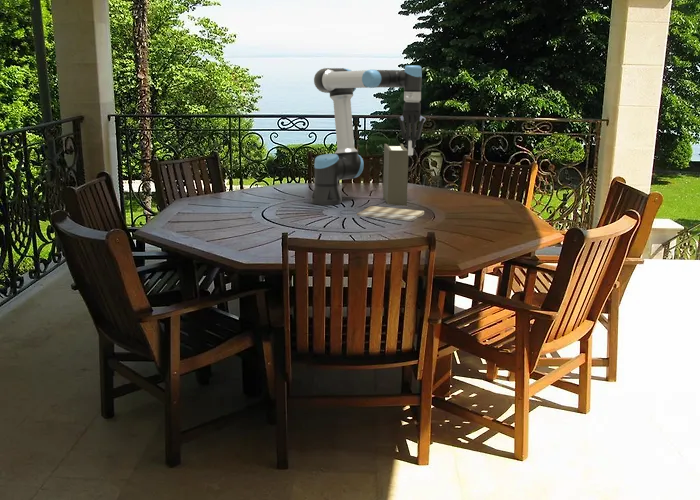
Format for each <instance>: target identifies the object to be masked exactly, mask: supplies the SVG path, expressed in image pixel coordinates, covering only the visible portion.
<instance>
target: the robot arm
mask: <svg viewBox="0 0 700 500" xmlns="http://www.w3.org/2000/svg"><path fill="white" fill-rule="evenodd" d="M422 69H423V68H422V66H421V65H405V66H404V70H403V69H402V70H397V69H366V70H365V69H363V70H362V69H361V70H352V69H349V68H344V67H342V68H341V67H340V68H338V67H336V68H335V67H333V68H332V67H331V68H330V67H327V68H326V67H324V68H321V69H319V70H318V71H316V73H315V75H314V77H313V84H314V87H315V88H316V89H317V90H318V91H319V92H322V93H326V94H329V98H330V99H331V100H332V101H333V102H332V103H333V112H334V113H333V114H334V122H335V123H334V126H335V135H336V136H335V137H336V147H337V148H336V150H335V152H334V153H325V154H320V155H317V156H315V158H314V164H313V165H314V166H313V167H314V189H313V191H312V195H311V197H310V201H311V202H310V203H311V204H313V205H320V206H335V205H339V204H341V203H342V201H343V200H342V199H343V197H342V195H341V191H340V189H339V181H340V180H352V179H356V178H358V177H360V175H361V174H362V173H363V171H364V165H365V164H364V159H363V158H362V156H361V155H359V150H358V149H356V148H355V138H354V125H353V114H352V113H353V111H352V102H351V99H352V98H353V96H354V92H356V89H357V88H358V89H365V88H367V89H373V88H375V89H377V88H378V89H379V88H391V89H393V88H394V89H395V88H397V89H398V88H399V89H400V88H403V90H404V92H403V101H404V102H403V112H402V115H401V116H399V117H397V121H398V123H399V128H400V132H401V138H402V139H404V140H405V141H406V142H405V143H406V147H405V148H406V149H407V150H408V155H409V156H413V155H414V149H415V148H416V143H417V142H416V141H417V140H421V135H422V132H423V127H424V123H425V122H426V120H427V118H426V117H424V116H422V113H421V109H422V108H421V105H422V104H421V103H422V102H421V101H422V80H423V78H422V77H423V75H422V73H423V70H422ZM405 122H406V125H405ZM418 122H419V123H418ZM405 126H406V127H405ZM417 127H418V128H417Z"/></svg>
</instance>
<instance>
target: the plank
mask: <svg viewBox="0 0 700 500" xmlns="http://www.w3.org/2000/svg"><path fill="white" fill-rule="evenodd" d="M362 211H368V212H378V213H388V214H398V215H408V216H417V218H416V219H419V218H421V217H422V216H423V215H425V211H424V210H417V209H408V208H407V209H406V208H397V207H396V208H395V207H386V206H375V205H369V206H368V207H367V208H365V209H363V210H362Z"/></svg>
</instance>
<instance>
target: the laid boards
mask: <svg viewBox="0 0 700 500" xmlns="http://www.w3.org/2000/svg"><path fill="white" fill-rule="evenodd" d="M356 216H361V217H369V218H379V219H380V218H381V219H389V220H391V219H392V220H399V221H408V222H412V221H414V220H416V219H418V218H417V216H408V215H398V214H388V213H378V212H368V211H363V210H361V211H359V212H357V213H356Z"/></svg>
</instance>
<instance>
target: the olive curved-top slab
mask: <svg viewBox="0 0 700 500" xmlns="http://www.w3.org/2000/svg"><path fill="white" fill-rule="evenodd" d="M383 145H384V146H383V147H384V150H383V152H384V153H383V179H382V180H383V181H382V182H383V187H382V199H383V200H385V203H386V205H391V206H392V205H393V206H404V207H407V206H408V184H409V183H408V177H409V156H410V155H408V148H407V147H405V146H404V144H403V143H400V144H399V145H389V144H387V143H384V144H383Z"/></svg>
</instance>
